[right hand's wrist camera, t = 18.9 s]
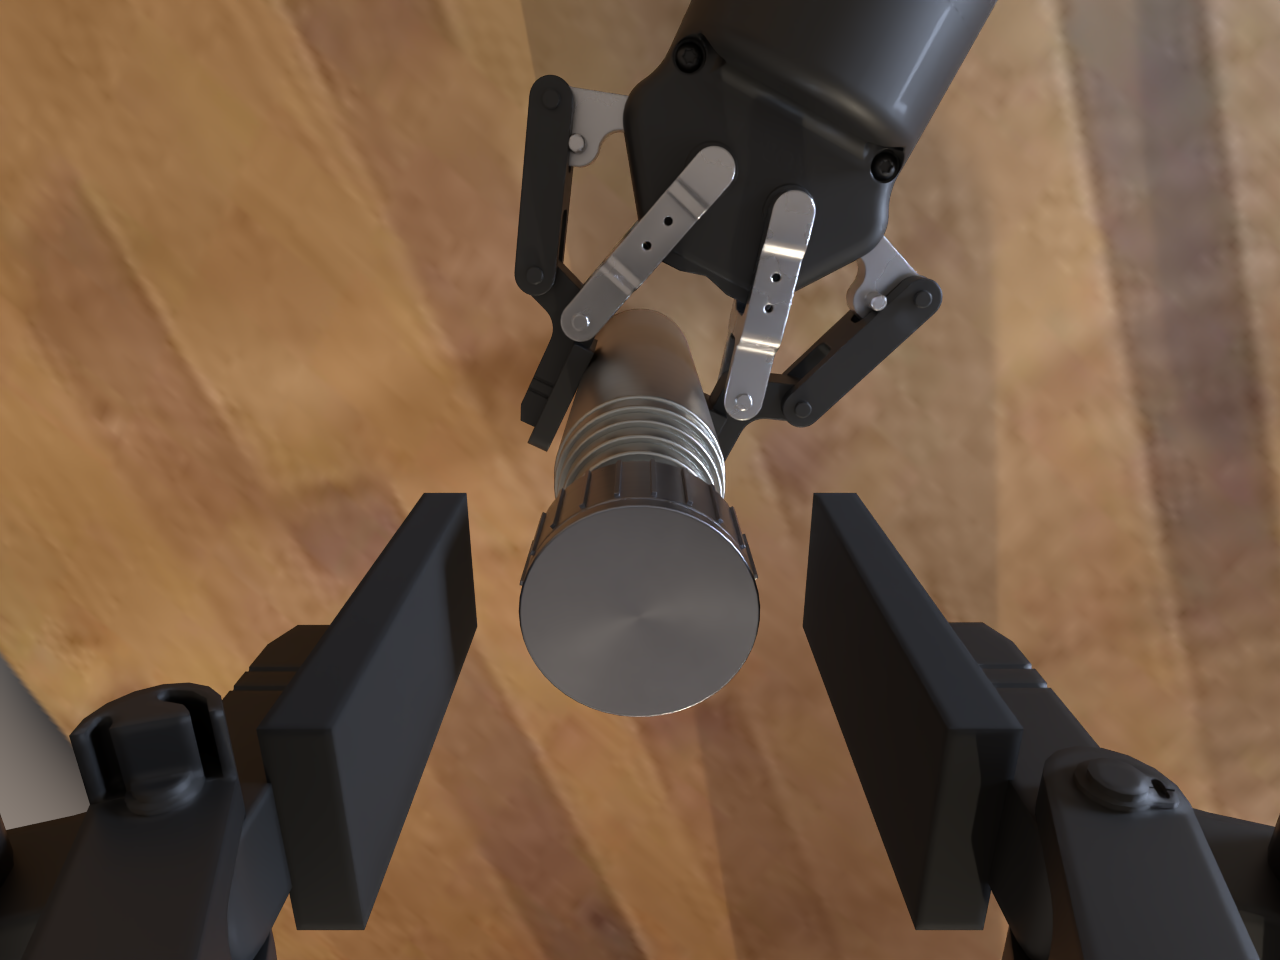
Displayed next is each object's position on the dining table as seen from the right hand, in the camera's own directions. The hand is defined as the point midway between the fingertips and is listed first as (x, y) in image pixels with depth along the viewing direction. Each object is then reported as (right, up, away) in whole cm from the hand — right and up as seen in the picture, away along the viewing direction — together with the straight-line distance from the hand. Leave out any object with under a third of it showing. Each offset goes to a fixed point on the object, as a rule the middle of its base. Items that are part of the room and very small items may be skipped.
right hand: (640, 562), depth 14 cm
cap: (0, -1, -2) cm, 2 cm away
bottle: (0, +6, +17) cm, 18 cm away
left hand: (-1, +2, +12) cm, 13 cm away
